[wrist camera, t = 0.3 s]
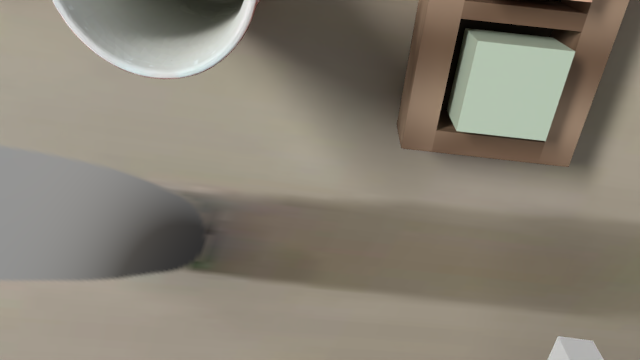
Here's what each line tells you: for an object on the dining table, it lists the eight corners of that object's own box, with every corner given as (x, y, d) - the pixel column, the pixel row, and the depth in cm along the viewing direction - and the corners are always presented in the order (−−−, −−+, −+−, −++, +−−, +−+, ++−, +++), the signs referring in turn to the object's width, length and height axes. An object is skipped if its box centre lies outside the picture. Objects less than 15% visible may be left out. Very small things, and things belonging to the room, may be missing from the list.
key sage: (465, 28, 31) (477, 41, 28) (552, 37, 31) (575, 51, 28) (446, 110, 34) (456, 131, 30) (527, 119, 33) (545, 141, 30)
